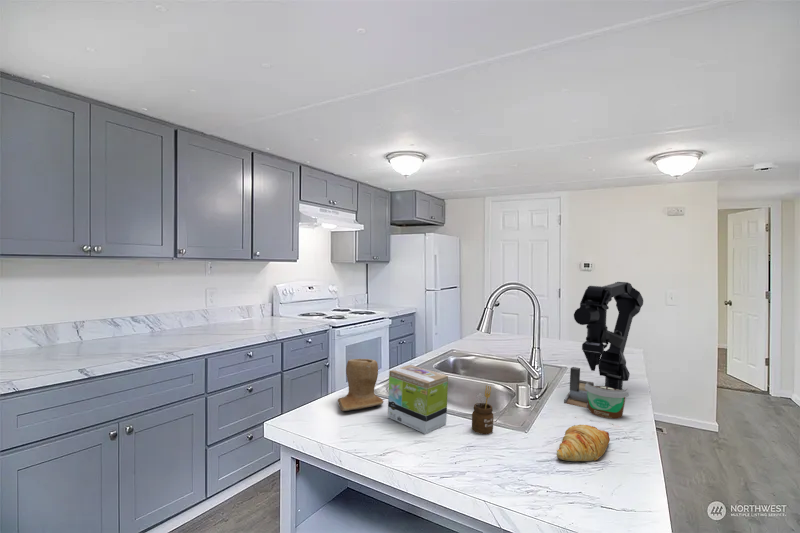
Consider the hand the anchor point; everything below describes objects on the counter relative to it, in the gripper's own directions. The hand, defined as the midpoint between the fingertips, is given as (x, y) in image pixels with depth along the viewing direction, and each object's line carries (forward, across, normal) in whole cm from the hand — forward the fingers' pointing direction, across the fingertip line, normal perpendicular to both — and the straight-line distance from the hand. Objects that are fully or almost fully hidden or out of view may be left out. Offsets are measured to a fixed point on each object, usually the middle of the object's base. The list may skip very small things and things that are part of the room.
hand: (594, 367), depth 140 cm
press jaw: (+11, -5, +4) cm, 12 cm away
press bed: (+12, -3, +4) cm, 13 cm away
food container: (+12, -14, -5) cm, 20 cm away
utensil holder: (+12, -45, +23) cm, 52 cm away
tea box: (+12, -51, +41) cm, 67 cm away
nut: (+11, 0, +4) cm, 11 cm away
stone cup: (+12, -51, +62) cm, 82 cm away
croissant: (+12, -42, -3) cm, 43 cm away
